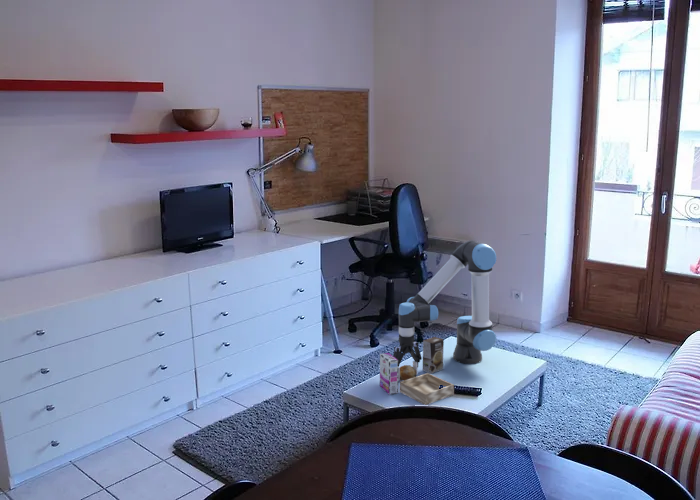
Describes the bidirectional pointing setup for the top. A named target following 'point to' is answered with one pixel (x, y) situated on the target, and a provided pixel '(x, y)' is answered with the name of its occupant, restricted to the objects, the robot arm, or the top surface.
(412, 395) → the wooden tray
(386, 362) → the candy bar box
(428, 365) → the coffee box
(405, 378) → the bread roll
